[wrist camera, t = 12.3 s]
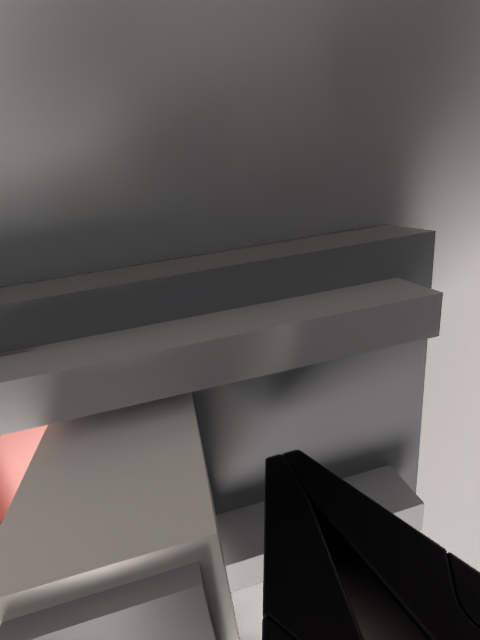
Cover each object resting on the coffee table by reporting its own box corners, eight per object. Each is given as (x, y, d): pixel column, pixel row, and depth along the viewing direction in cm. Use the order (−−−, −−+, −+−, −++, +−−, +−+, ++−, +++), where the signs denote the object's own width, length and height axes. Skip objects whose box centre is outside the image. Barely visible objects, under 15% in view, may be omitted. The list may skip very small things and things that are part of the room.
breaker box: (385, 225, 10) (512, 240, 7) (379, 461, 14) (463, 559, 10) (-110, 305, 8) (-325, 392, 5) (21, 564, 11) (-42, 739, 8)
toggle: (189, 381, 8) (221, 554, 4) (214, 508, 10) (256, 725, 6) (53, 411, 8) (-54, 639, 4) (101, 540, 9) (59, 804, 5)
